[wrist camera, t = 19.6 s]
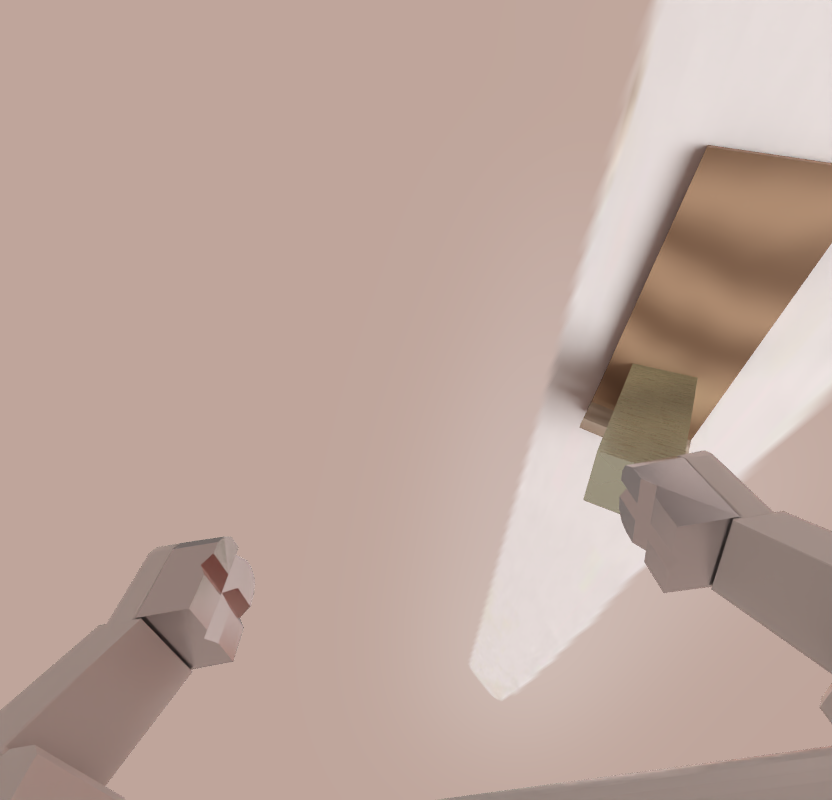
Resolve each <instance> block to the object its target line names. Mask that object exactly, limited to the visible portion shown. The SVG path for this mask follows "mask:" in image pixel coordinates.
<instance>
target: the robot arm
mask: <svg viewBox="0 0 832 800" xmlns="http://www.w3.org/2000/svg"><path fill="white" fill-rule="evenodd" d="M621 481H622V482H623V484H624V485H625V487H626V488H627V489H626V490H625V491H624V492H623V493H622V494H621V495H620V497H619V511H620V515H621V520H622V523H623V525H624V528H625V530H626V532H627V534H628V536H629V537H630V539H631V541H632V542H633V543H634V544H636V545H638V546H639V547H641V548H643V549H644V550H646V554H645V561H644V562H645V564H646V565H647V567H648V569H649V570H650V572H651V573H652V575H653V577H654V578H655V580H656V581H657V583H658V585H659V586H660V588H661V589H662V591H663V592H664V593H667V592H674V591H682V590H689V589H697V588H705V587H712V590H713V591H715V592H716V593H718V594H719V595H720V596H722V597H723V598H725V599H726V600H728V601H729V602H731V603H732V604H733V605H735V606H736V607H737V608H739V609H740V610H742V611H743V612H745V613H746V614H747V615H749V616H750V617H752V618H753V619H755V620H756V621H757V622H759V623H760V624H762V625H763V626H765V627H766V628H767V629H769V630H770V631H772V632H773V633H774V634H776V635H777V636H779V637H780V638H781V639H783V640H784V641H786V642H787V643H789V644H790V645H791V646H793V647H794V648H796V649H797V650H799V651H800V652H801V653H803V654H804V655H806V656H807V657H808V658H810V659H811V660H813V661H814V662H816V663H817V664H819V665H820V666H821V667H823V668H824V669H826V670H827V671H828V672H830V673H831V674H832V531H830V530H828V529H825V528H823V527H820V526H818V525H815V524H813V523H811V522H808V521H806V520H803V519H801V518H799V517H796V516H794V515H791V514H789V513H787V512H784V511H780V512H773V511H772V510H771V509H770V508H769V507H768V506H767V505H766V504H765V503H764V502H762V500H761V499H759V498H758V497H757V496H756V495H755V494H754V493H753V492H752V491H751V490H750V489H749V488H748V487H747V486H746V485H745V484H744V483H742V482H741V481H740V480H739V479H738V478H737V477H736V476H735V475H734V474H733V473H732V472H731V471H730V470H729V469H728V468H727V467H726V466H724V465H723V464H722V463H721V462H720V461H719V460H718V459H717V458H716V457H715V456H714V455H713V454H711V453H709V452H707V451H700V452H694V453H689V454H683V455H678V456H673V457H667V458H662V459H657V460H651V461H646V462H641V463H635V464H630V465H625V467H624V469H623V470H622V477H621ZM237 550H238V546H237V545H236V543H235V542H234V540H233V539H232V538H231V537H219V538H213V539H205V540H199V541H192V542H186V543H180V544H176V545H169V546H162V547H157V548H156V549H154V550H153V551H152V552H150V553H149V554H148V556H147V558H146V560H145V561H144V563H143V564H142V566H141V568H140V569H139V571H138V573H137V574H136V576H135V578H134V579H133V581H132V583H131V584H130V586H129V588H128V589H127V591H126V593H125V594H124V596H123V598H122V599H121V601H120V603H119V604H118V606H117V608H116V609H115V611H114V613H113V614H112V616H111V618H110V619H109V621H108V623H107V624H104V625H99V626H98V627H97V628H96V629H94V630H93V631H92V632H91V633H90V634H89V635H87V636H86V637H85V638H84V639H83V640H82V641H81V642H79V643H78V644H77V645H76V646H75V647H74V648H72V649H71V650H70V651H69V652H68V653H66V654H65V655H64V656H63V657H62V658H61V659H60V660H59V661H57V662H56V663H55V664H54V665H53V666H51V667H50V668H49V669H48V670H47V671H46V672H44V673H43V674H42V675H41V676H40V677H39V678H37V679H36V680H35V681H34V682H33V683H32V684H31V685H29V686H28V687H27V688H26V689H25V690H24V691H23V692H21V693H20V694H19V695H18V696H17V697H15V698H14V699H13V700H12V701H11V702H10V703H9V704H7V705H6V706H5V707H4V708H3V709H2V710H0V800H125V799H124V797H122V796H121V795H119V794H117V793H115V792H114V791H112V790H110V789H109V788H107V787H105V785H106V784H107V783H108V782H109V780H110V779H111V778H112V776H113V775H114V774H115V773H116V771H117V770H118V769H119V767H120V766H121V765H122V763H123V762H124V761H125V759H126V758H127V757H128V755H129V754H130V753H131V751H132V750H133V749H134V748H135V746H136V745H137V743H138V742H139V741H140V740H141V738H142V737H143V736H144V734H145V733H146V732H147V731H148V729H149V728H150V727H151V725H152V724H153V723H154V721H155V720H156V719H157V717H158V716H159V715H160V713H161V712H162V711H163V709H164V708H165V707H166V705H167V704H168V703H169V702H170V700H171V699H172V698H173V696H174V695H175V694H176V692H177V691H178V690H179V689H180V687H181V686H182V684H183V683H184V682H185V681H186V679H187V678H188V677H189V675H190V674H191V673H192V671H191V669H196V668H201V667H207V666H212V665H217V664H223V663H228V662H233V661H234V657H235V654H236V651H237V648H238V644H239V641H240V638H241V635H242V631H243V628H244V627H243V625H242V622H241V620H240V617H241V616H242V615H243V614H244V613H245V612H246V610H247V609H248V608H249V607H250V605H251V602H252V598H253V595H254V575H253V571H252V568H251V566H250V565H249V563H248V562H247V560H245V559H243V558H241V557H239V556H237V555H236V553H237ZM820 709H821V710H822V711H823V713H824V714H825V715H826V717H827V718H828V719H829V720H830V722H831V723H832V684H831V685H830V687H829V688H828V689H827V691H826V692H825V694H824V695H823V696H822V699H821V703H820ZM440 800H832V746H828V747H820V748H813V749H805V750H798V751H791V752H783V753H776V754H769V755H762V756H754V757H747V758H740V759H732V760H725V761H718V762H710V763H704V764H695V765H689V766H681V767H675V768H667V769H659V770H652V771H645V772H637V773H630V774H622V775H615V776H608V777H600V778H593V779H586V780H578V781H571V782H564V783H556V784H550V785H542V786H535V787H527V788H521V789H512V790H505V791H498V792H491V793H483V794H476V795H469V796H462V797H454V798H447V799H440Z"/></svg>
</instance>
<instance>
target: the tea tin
mask: <svg viewBox="0 0 832 800" xmlns="http://www.w3.org/2000/svg"><path fill="white" fill-rule="evenodd" d="M697 380H698V378H697V377H692V376H688V375H683V374H679V373H674V372H670V371H665V370H661V369H656V368H652V367H647V366H643V365H639V364H634V363H633V364H632V366H631V369H630V371H629V374H628V376H627V379H626V381H625V384H624V386H623V389H622V391H621V394H620V396H619V399H618V401H617V404H616V406H615V409H614V411H613V414H612V416H611V419H610V421H609V424H608V426H607V428H606V431H605V433H604V436H603V438H602V441H601V443H600V446H599V448H598V451H597V454H596V458H595V461H594V465H593V468H592V472H591V475H590V479H589V482H588V486H587V489H586V493H585V496H584V500H585V501H587V502H590V503H592V504H595V505H598V506H600V507H603V508H605V509H608V510H611V511H613V512H616V513H619V514H620V511H619V497H620V495H621V494H622V493H623V492H624V491H625V490H626V489H627V488H626V487H625V485H624V484H623V482H622V481H621V477H622V470H623V469H624V467H625V465H630V464H635V463H641V462H646V461H651V460H657V459H662V458H667V457H673V456H678V455H683V454H685V452H686V446H687V440H688V434H689V428H690V422H691V416H692V410H693V404H694V398H695V392H696V386H697Z"/></svg>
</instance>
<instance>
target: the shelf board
mask: <svg viewBox="0 0 832 800" xmlns="http://www.w3.org/2000/svg"><path fill="white" fill-rule="evenodd" d="M831 243H832V163H827V162H820V161H813V160H807V159H800V158H793V157H786V156H779V155H773V154H766V153H759V152H752V151H745V150H739V149H732V148H725V147H718V146H711V145H708V146H707V148H706V150H705V152H704V155H703V157H702V159H701V161H700V163H699V166H698V168H697V170H696V172H695V174H694V177H693V179H692V181H691V183H690V185H689V188H688V190H687V192H686V194H685V197H684V199H683V201H682V203H681V205H680V208H679V210H678V212H677V214H676V216H675V219H674V221H673V223H672V225H671V227H670V230H669V232H668V234H667V236H666V238H665V241H664V243H663V245H662V247H661V250H660V252H659V254H658V256H657V258H656V261H655V263H654V265H653V267H652V269H651V272H650V274H649V276H648V278H647V280H646V283H645V285H644V287H643V289H642V291H641V294H640V296H639V298H638V300H637V303H636V305H635V307H634V309H633V311H632V314H631V316H630V318H629V320H628V322H627V325H626V327H625V329H624V331H623V333H622V336H621V338H620V340H619V342H618V344H617V347H616V349H615V351H614V353H613V356H612V358H611V360H610V362H609V364H608V367H607V369H606V371H605V373H604V375H603V378H602V380H601V382H600V384H599V386H598V389H597V391H596V393H595V395H594V397H593V400H592V402H591V404H590V406H589V408H588V410H587V412H586V414H585V416H584V418H583V421H582V423H581V425H580V428H582V429H584V430H587V431H589V432H592V433H594V434H596V435H599V436H601V437H603V436H604V433H605V431H606V428H607V426H608V424H609V421H610V419H611V416H612V414H613V411H614V409H615V406H616V404H617V401H618V399H619V396H620V394H621V391H622V389H623V386H624V384H625V381H626V379H627V376H628V374H629V371H630V369H631V366H632V364H633V363H634V364H639V365H643V366H647V367H652V368H656V369H661V370H665V371H670V372H674V373H679V374H683V375H688V376H692V377H697V378H698V380H697V386H696V392H695V398H694V404H693V410H692V416H691V422H690V428H689V434H688V440H687V446H686V452H685V454H689V448H690V442H691V439H692V438H693V437H694V435H695V434H696V432H697V431H698V430H699V428H700V427H701V425H702V424H703V423H704V421H705V420H706V418H707V417H708V416H709V414H710V413H711V411H712V410H713V409H714V407H715V406H716V404H717V403H718V402H719V400H720V399H721V397H722V396H723V395H724V393H725V392H726V390H727V389H728V388H729V386H730V385H731V383H732V382H733V381H734V379H735V378H736V376H737V375H738V374H739V372H740V371H741V369H742V368H743V367H744V365H745V364H746V362H747V361H748V360H749V358H750V357H751V355H752V354H753V353H754V351H755V350H756V348H757V347H758V346H759V344H760V343H761V341H762V340H763V338H764V337H765V336H766V334H767V333H768V331H769V330H770V329H771V327H772V326H773V324H774V323H775V322H776V320H777V319H778V317H779V316H780V315H781V313H782V312H783V310H784V309H785V308H786V306H787V305H788V303H789V302H790V301H791V299H792V298H793V296H794V295H795V294H796V292H797V291H798V289H799V288H800V287H801V285H802V284H803V282H804V281H805V280H806V278H807V277H808V275H809V274H810V273H811V271H812V270H813V268H814V267H815V266H816V264H817V263H818V261H819V260H820V259H821V257H822V256H823V254H824V253H825V252H826V250H827V249H828V247H829V246H830V245H831Z"/></svg>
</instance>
